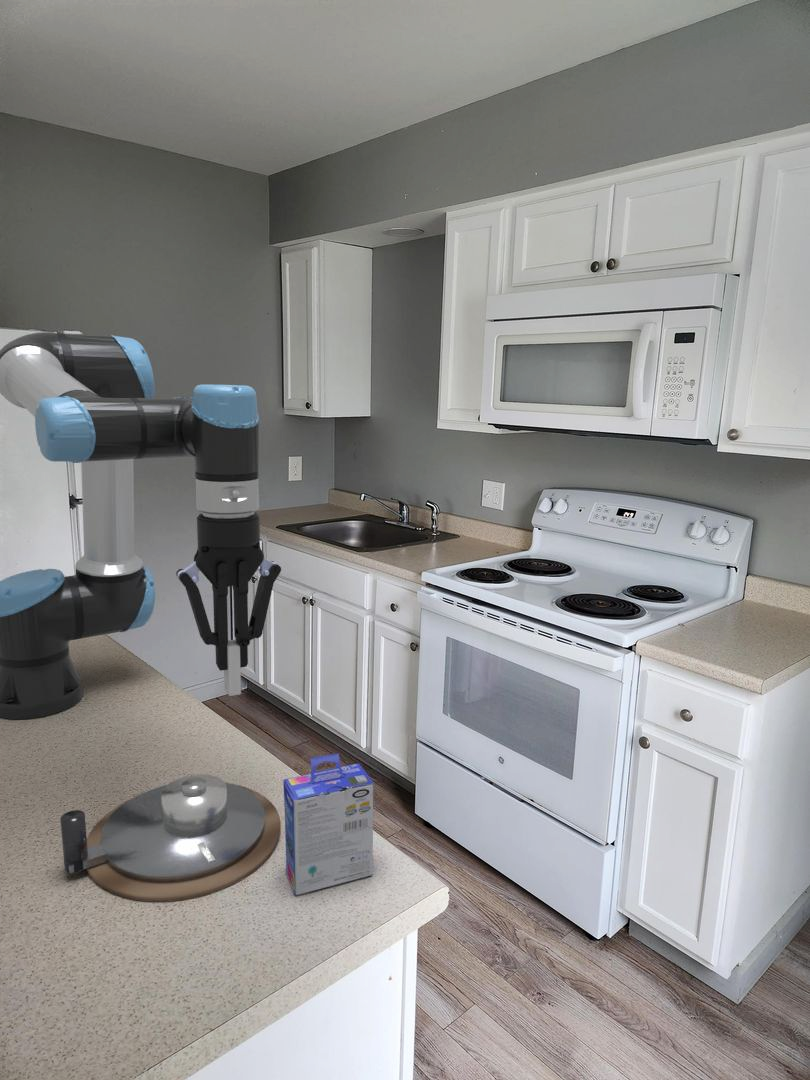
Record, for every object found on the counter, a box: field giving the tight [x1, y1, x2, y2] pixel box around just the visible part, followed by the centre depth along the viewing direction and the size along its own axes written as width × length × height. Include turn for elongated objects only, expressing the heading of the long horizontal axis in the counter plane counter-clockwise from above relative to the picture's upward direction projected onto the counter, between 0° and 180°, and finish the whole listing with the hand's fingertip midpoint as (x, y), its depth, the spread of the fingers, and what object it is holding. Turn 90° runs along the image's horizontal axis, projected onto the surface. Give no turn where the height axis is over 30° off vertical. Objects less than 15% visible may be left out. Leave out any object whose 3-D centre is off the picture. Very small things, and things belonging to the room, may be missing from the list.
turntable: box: [60, 781, 265, 882], centre depth 92 cm, size 20×24×6 cm
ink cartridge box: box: [282, 753, 375, 896], centre depth 86 cm, size 10×6×14 cm, turn 114°
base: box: [85, 784, 281, 903], centre depth 94 cm, size 24×24×1 cm
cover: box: [161, 774, 227, 838], centre depth 93 cm, size 8×8×5 cm
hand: (232, 690), depth 95 cm, fingers closed
